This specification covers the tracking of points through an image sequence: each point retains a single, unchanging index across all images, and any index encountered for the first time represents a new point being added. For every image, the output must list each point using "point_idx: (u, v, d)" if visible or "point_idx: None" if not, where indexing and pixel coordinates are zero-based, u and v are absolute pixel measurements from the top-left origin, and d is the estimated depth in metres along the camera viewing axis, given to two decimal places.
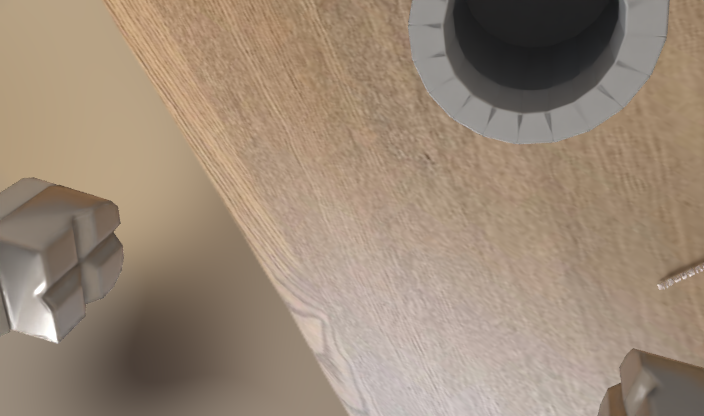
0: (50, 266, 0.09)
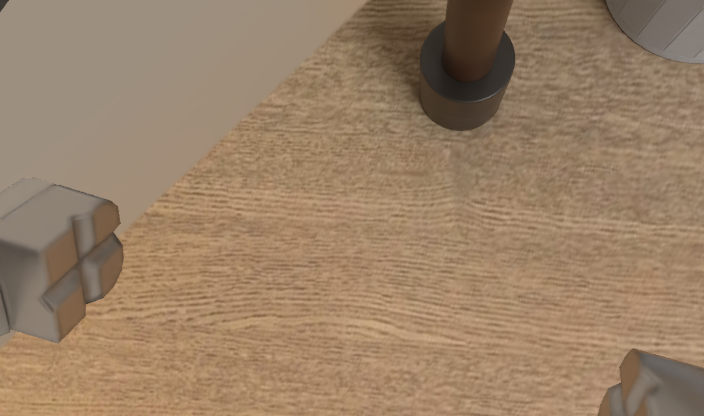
0: (50, 267, 0.09)
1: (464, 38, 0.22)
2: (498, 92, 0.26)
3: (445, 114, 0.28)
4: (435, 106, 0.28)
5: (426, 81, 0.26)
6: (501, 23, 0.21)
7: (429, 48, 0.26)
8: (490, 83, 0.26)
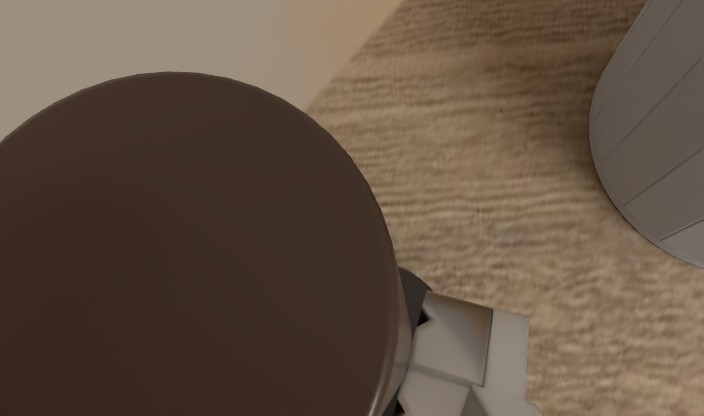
0: None
1: None
2: None
3: None
4: None
5: None
6: None
7: None
8: None
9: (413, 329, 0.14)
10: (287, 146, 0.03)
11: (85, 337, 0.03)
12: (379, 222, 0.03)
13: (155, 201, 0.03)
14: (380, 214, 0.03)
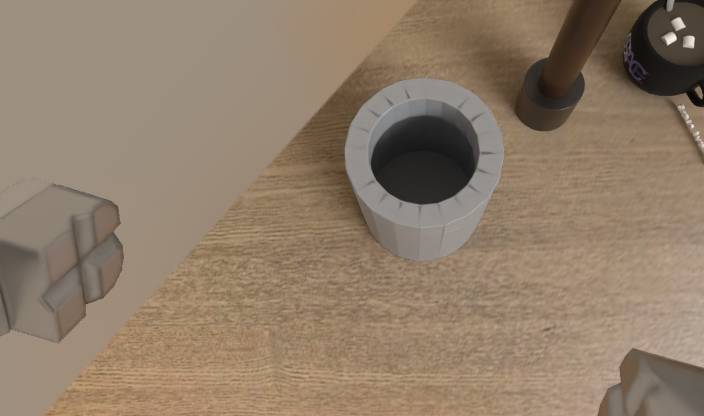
0: (50, 266, 0.09)
1: (563, 71, 0.38)
2: (576, 102, 0.41)
3: (540, 120, 0.43)
4: (533, 115, 0.43)
5: (530, 99, 0.42)
6: (586, 60, 0.37)
7: (529, 79, 0.42)
8: (571, 97, 0.41)
9: None
10: None
11: None
12: None
13: None
14: None
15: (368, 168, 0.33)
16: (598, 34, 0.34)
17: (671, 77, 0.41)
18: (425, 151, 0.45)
